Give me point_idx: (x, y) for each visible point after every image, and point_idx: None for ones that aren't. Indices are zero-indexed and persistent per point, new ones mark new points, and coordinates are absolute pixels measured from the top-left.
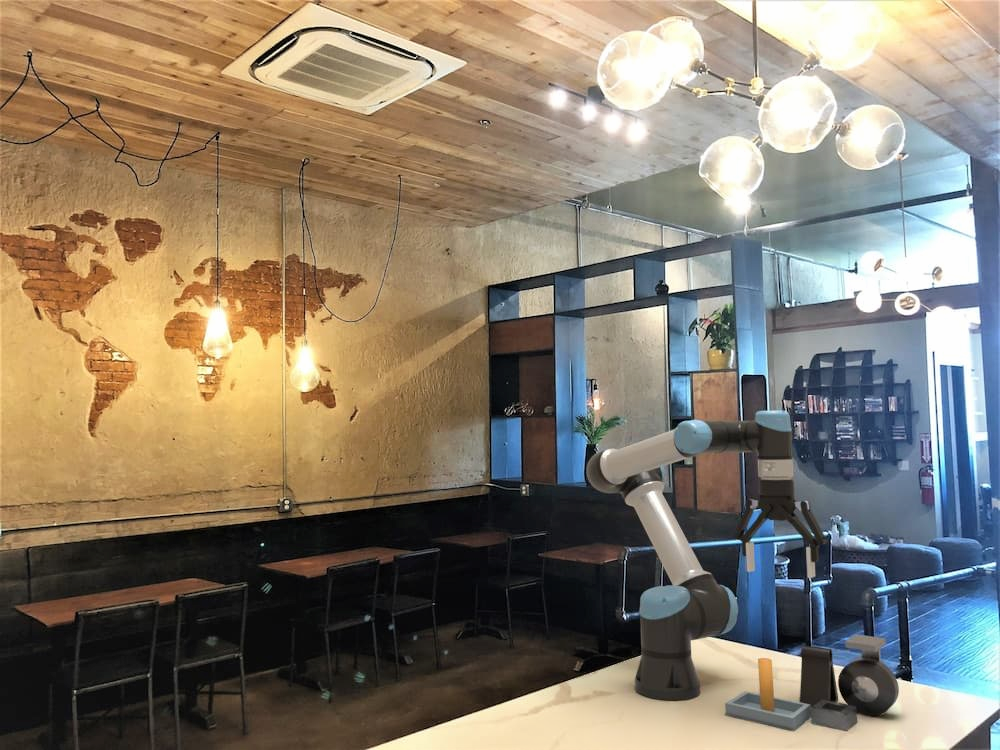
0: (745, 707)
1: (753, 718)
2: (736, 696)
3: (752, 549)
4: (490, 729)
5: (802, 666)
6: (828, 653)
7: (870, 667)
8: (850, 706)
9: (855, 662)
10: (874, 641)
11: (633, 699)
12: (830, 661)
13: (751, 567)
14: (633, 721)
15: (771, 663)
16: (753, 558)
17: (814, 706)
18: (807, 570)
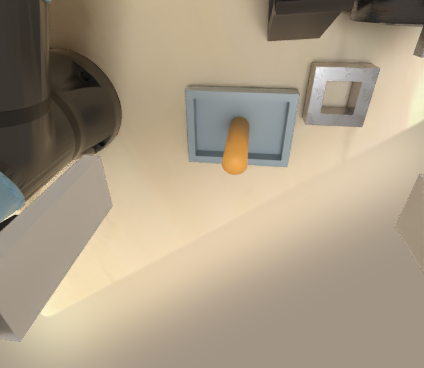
0: (218, 162)
1: None
2: (187, 125)
3: (34, 254)
4: (59, 286)
5: (275, 19)
6: (350, 7)
7: None
8: (368, 75)
9: (419, 24)
10: None
11: (72, 164)
12: None
13: (99, 202)
14: (125, 222)
15: (247, 161)
16: (67, 202)
17: (309, 113)
18: (412, 253)
